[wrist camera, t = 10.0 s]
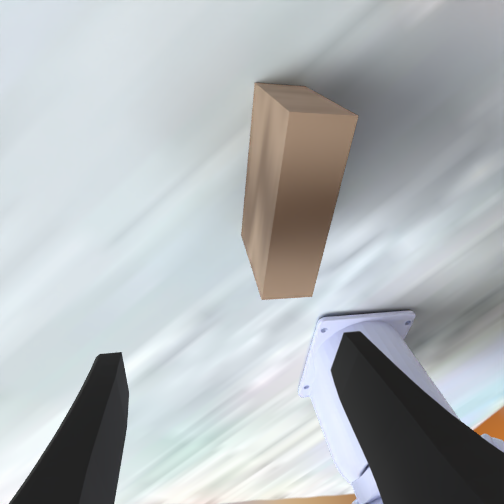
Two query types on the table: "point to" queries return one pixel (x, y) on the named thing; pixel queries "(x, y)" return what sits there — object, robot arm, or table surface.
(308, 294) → the bar
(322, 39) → the table surface
